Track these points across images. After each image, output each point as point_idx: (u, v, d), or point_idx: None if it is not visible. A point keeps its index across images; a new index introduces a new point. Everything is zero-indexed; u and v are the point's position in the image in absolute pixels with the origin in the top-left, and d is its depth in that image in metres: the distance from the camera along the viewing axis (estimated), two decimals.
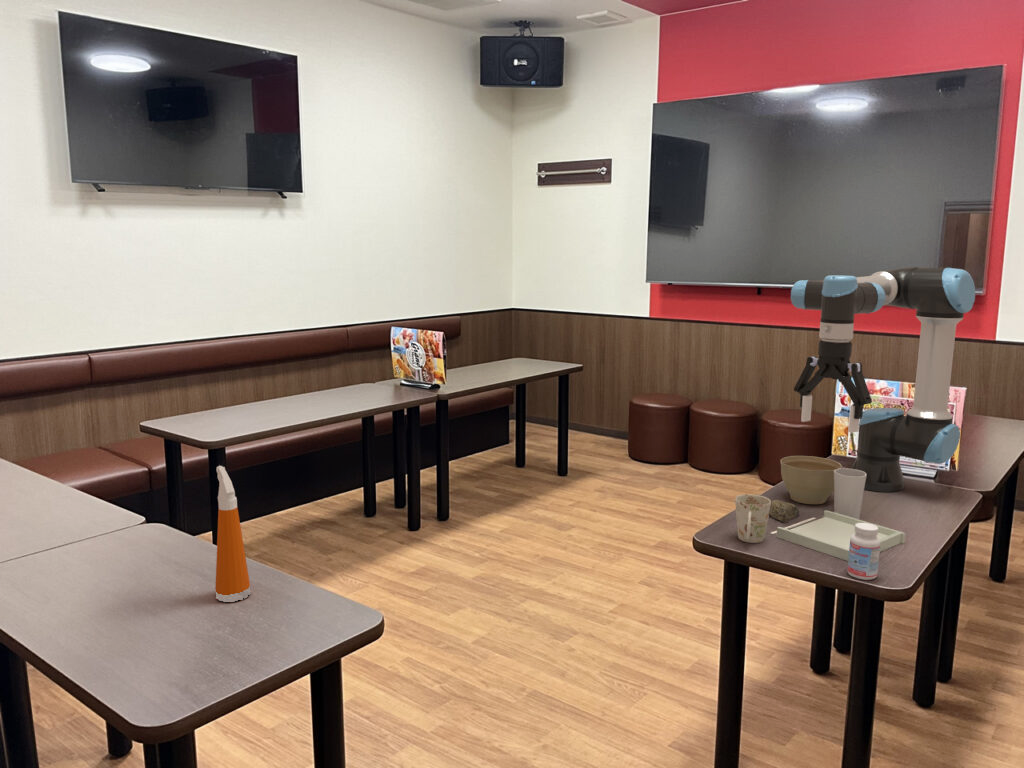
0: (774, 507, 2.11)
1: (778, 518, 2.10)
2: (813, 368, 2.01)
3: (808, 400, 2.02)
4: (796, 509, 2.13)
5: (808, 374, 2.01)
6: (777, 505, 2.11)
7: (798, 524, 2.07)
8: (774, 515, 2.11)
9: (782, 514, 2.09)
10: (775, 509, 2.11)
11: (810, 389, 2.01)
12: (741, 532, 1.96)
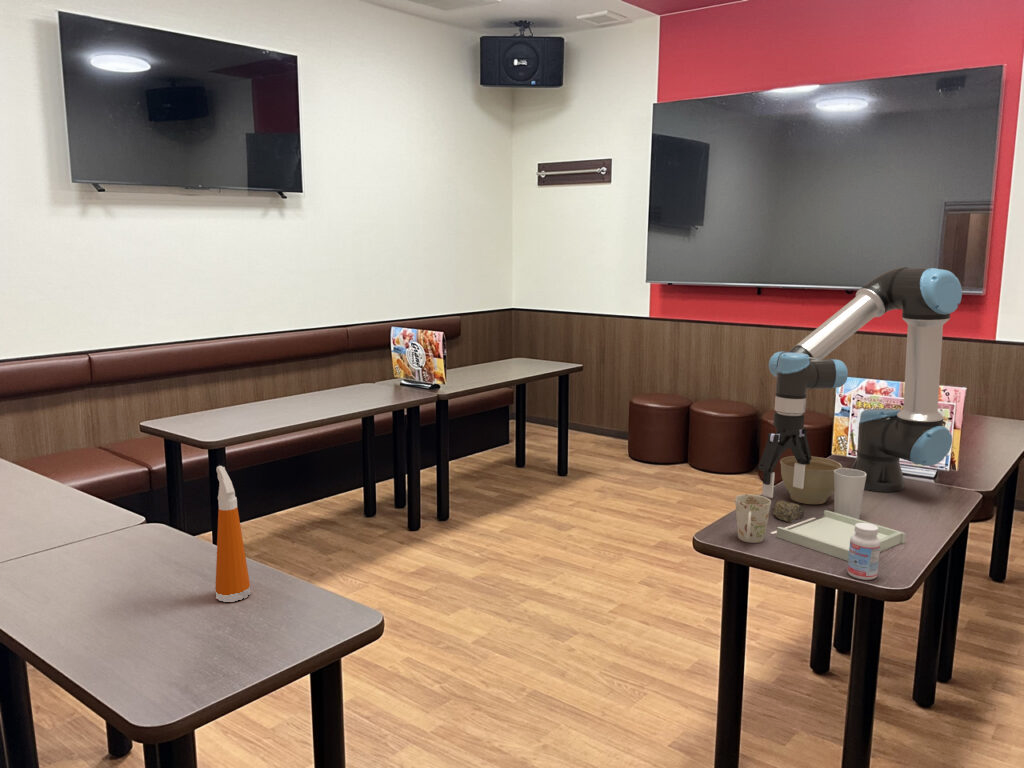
0: (779, 507, 2.11)
1: (783, 518, 2.10)
2: (802, 439, 2.13)
3: (798, 467, 2.15)
4: (801, 509, 2.12)
5: (801, 444, 2.14)
6: (782, 505, 2.11)
7: (798, 524, 2.07)
8: (779, 515, 2.11)
9: (787, 514, 2.09)
10: (780, 509, 2.10)
11: (799, 458, 2.15)
12: (741, 532, 1.96)
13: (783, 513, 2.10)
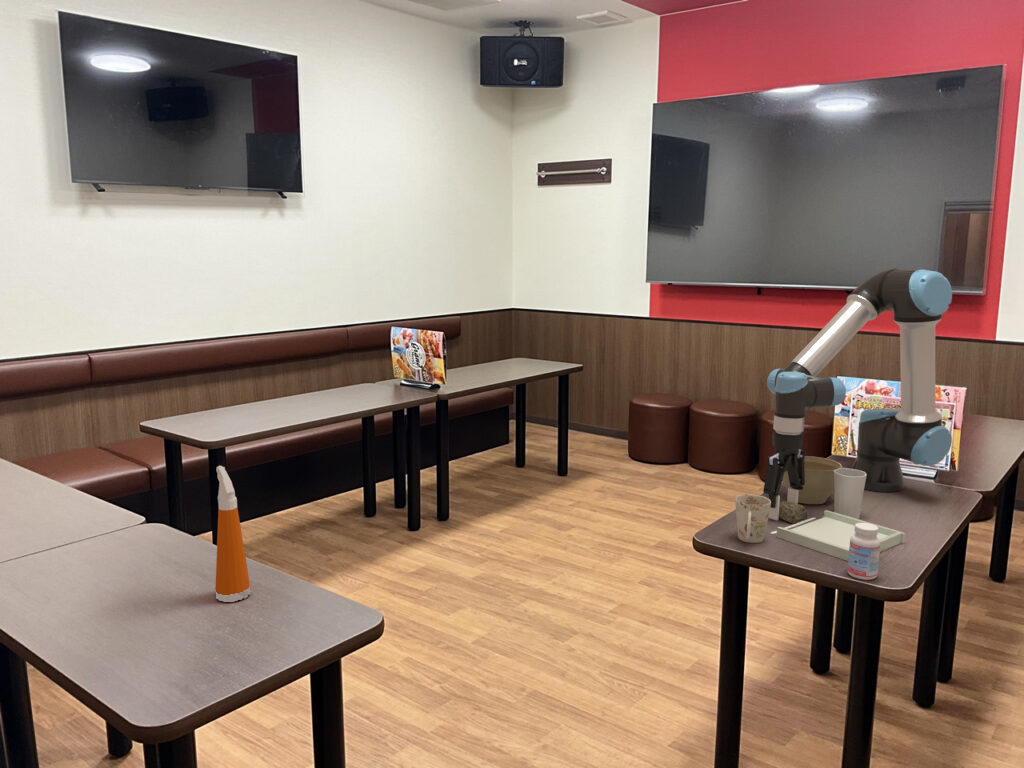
0: (783, 508, 2.10)
1: (787, 519, 2.09)
2: (799, 460, 2.14)
3: (791, 493, 2.15)
4: (805, 510, 2.11)
5: (797, 466, 2.15)
6: (786, 506, 2.10)
7: (798, 524, 2.07)
8: (783, 516, 2.10)
9: (791, 515, 2.08)
10: (784, 510, 2.09)
11: (793, 481, 2.14)
12: (741, 532, 1.96)
13: (787, 514, 2.09)
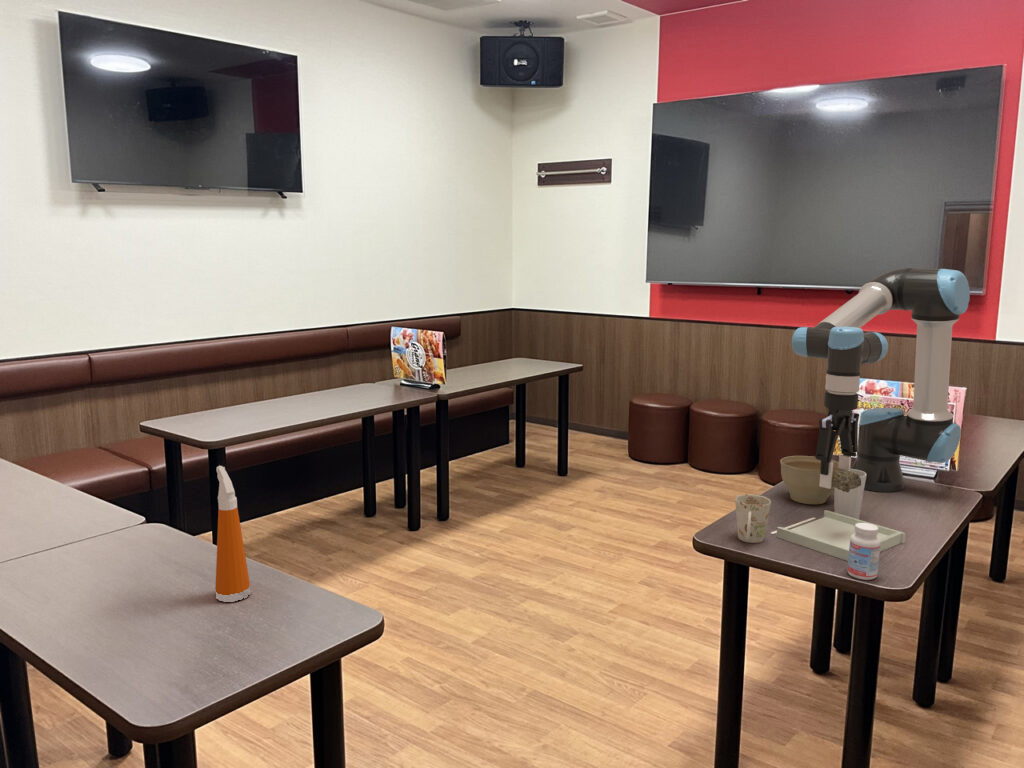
0: (835, 475, 1.93)
1: (840, 487, 1.91)
2: (852, 424, 1.97)
3: (843, 460, 1.98)
4: (858, 478, 1.94)
5: (850, 431, 1.98)
6: (838, 473, 1.92)
7: (798, 524, 2.07)
8: (835, 484, 1.92)
9: (844, 482, 1.90)
10: (836, 477, 1.92)
11: (845, 447, 1.97)
12: (741, 532, 1.96)
13: (840, 481, 1.91)
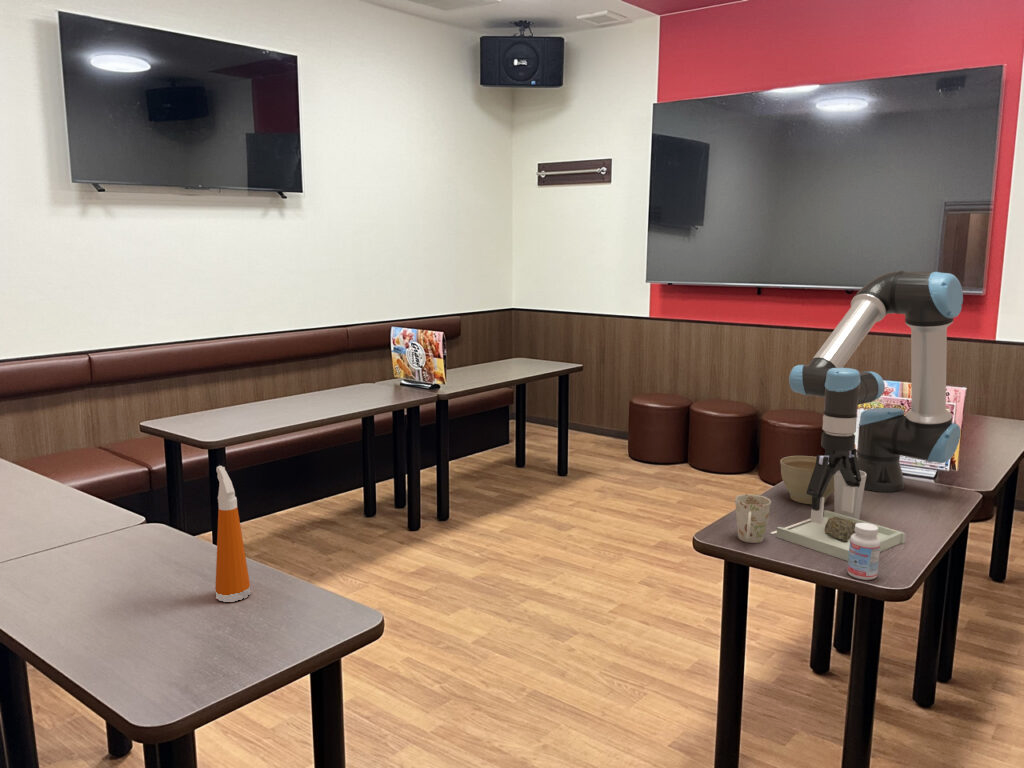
0: (833, 525, 1.95)
1: (838, 536, 1.94)
2: (851, 460, 1.99)
3: (847, 490, 2.01)
4: None
5: (851, 465, 2.00)
6: (837, 522, 1.95)
7: (798, 524, 2.07)
8: (833, 533, 1.95)
9: (843, 532, 1.93)
10: (835, 527, 1.94)
11: (848, 480, 2.00)
12: (741, 532, 1.96)
13: (838, 531, 1.94)
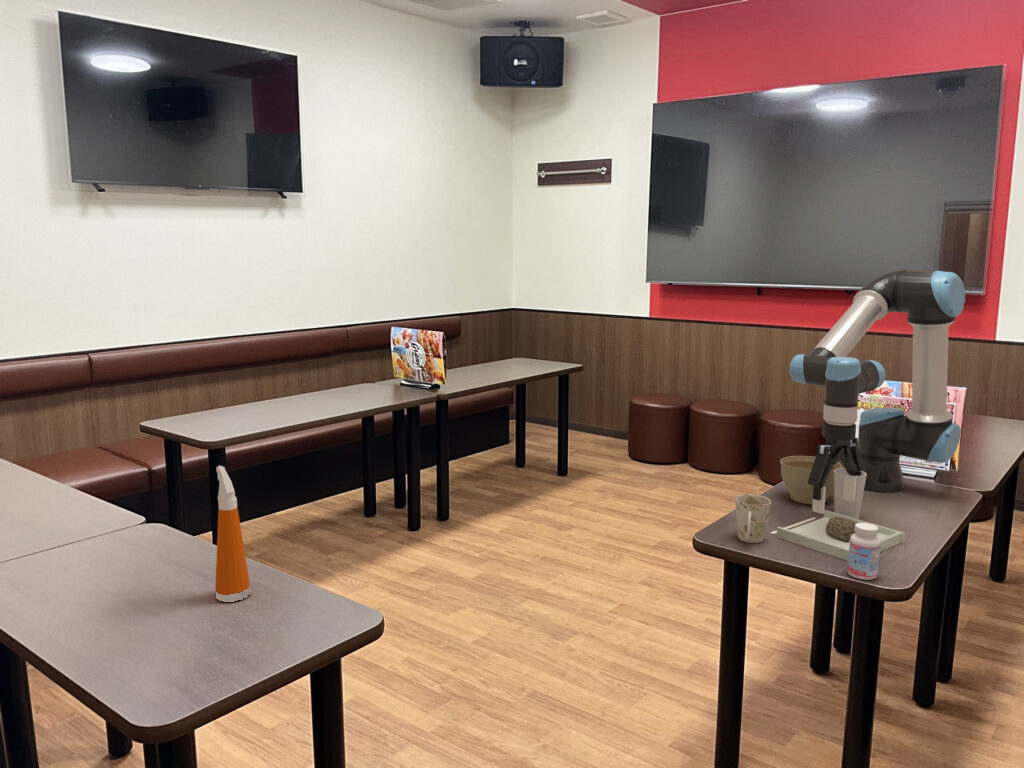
0: (835, 525, 1.95)
1: (840, 536, 1.94)
2: (853, 449, 1.99)
3: (849, 479, 2.01)
4: None
5: (852, 454, 2.00)
6: (838, 523, 1.95)
7: (798, 524, 2.07)
8: (835, 534, 1.94)
9: (844, 532, 1.93)
10: (836, 527, 1.94)
11: (849, 469, 2.00)
12: (741, 532, 1.96)
13: (840, 531, 1.94)
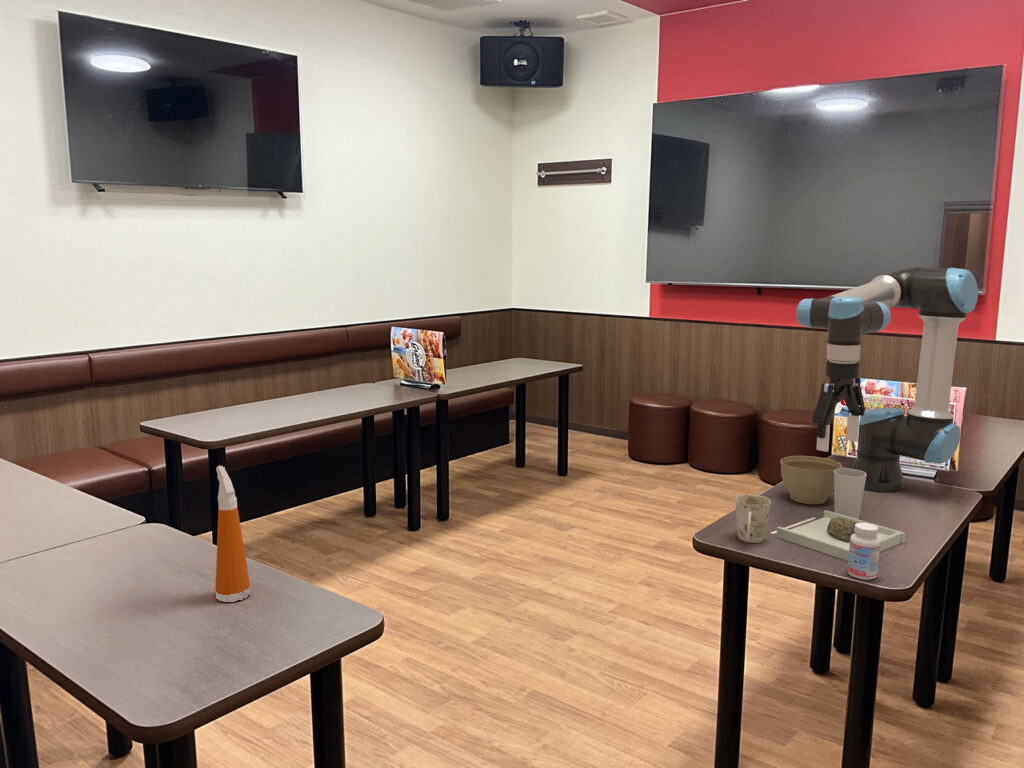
0: (836, 525, 1.94)
1: (842, 536, 1.93)
2: (855, 389, 2.01)
3: (852, 419, 2.03)
4: None
5: (855, 395, 2.02)
6: (840, 523, 1.94)
7: (798, 524, 2.07)
8: (837, 534, 1.94)
9: (846, 532, 1.92)
10: (838, 527, 1.94)
11: (852, 409, 2.02)
12: (741, 532, 1.96)
13: (841, 531, 1.93)
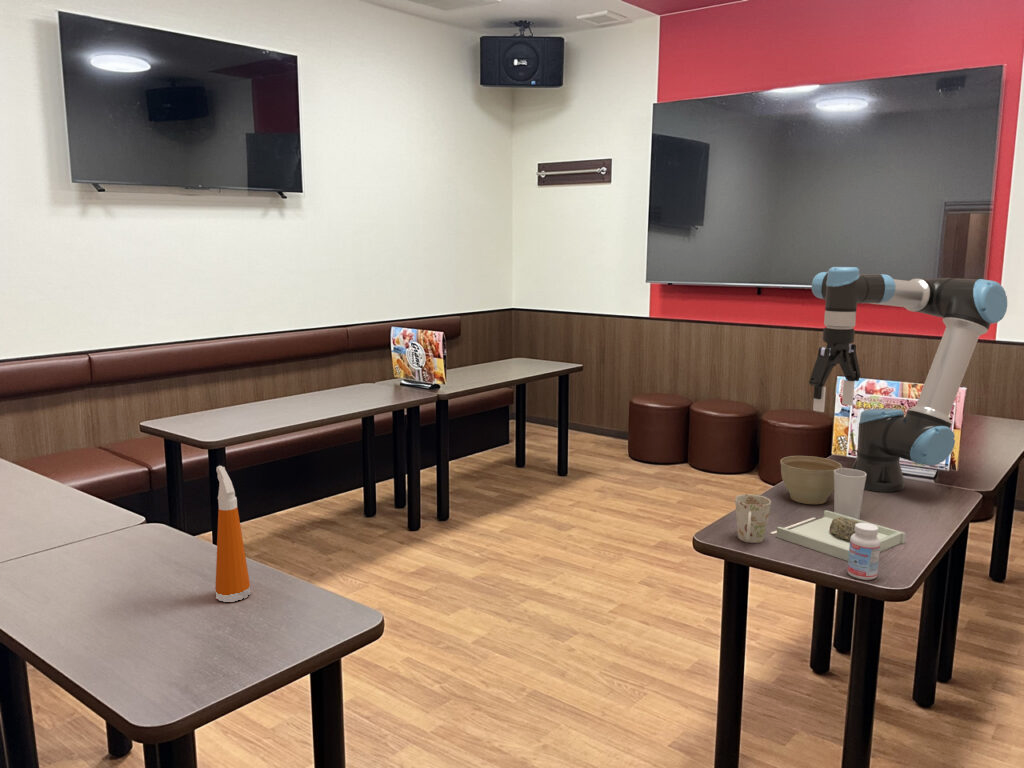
0: (839, 525, 1.94)
1: (845, 537, 1.93)
2: (851, 355, 2.13)
3: (847, 384, 2.15)
4: None
5: (850, 361, 2.14)
6: (843, 523, 1.94)
7: (798, 524, 2.07)
8: (840, 534, 1.94)
9: (850, 533, 1.92)
10: (841, 527, 1.94)
11: (848, 374, 2.14)
12: (741, 532, 1.96)
13: (845, 531, 1.93)
